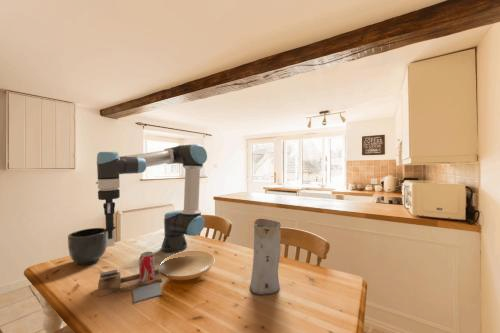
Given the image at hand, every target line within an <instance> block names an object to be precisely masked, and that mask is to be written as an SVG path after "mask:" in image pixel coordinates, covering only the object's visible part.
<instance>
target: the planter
mask: <svg viewBox="0 0 500 333" xmlns="http://www.w3.org/2000/svg"><path fill="white" fill-rule="evenodd" d="M104 230H106V227H93V228H84V229H80V230H76V231H74V232H71V233H69V234H68V236H67V248H68V253H69V256H70V259H71V260H72V261H73V262H75V263H77V264H78V265H80V266H88V265H92V264H95V263H97V262H98V261H99V260H100V258H102V256H103V255H104V254H105V252H106V249H107V248H108V247H107V245H106V232H104Z"/></svg>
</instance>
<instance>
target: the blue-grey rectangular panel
mask: <svg viewBox="0 0 500 333" xmlns="http://www.w3.org/2000/svg"><path fill="white" fill-rule="evenodd" d="M119 272H120V271H118V269H113V270H109V271H104V272H100V273H99V278H105V277H110V276H114V275H118V274H119Z"/></svg>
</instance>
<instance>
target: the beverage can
mask: <svg viewBox="0 0 500 333" xmlns="http://www.w3.org/2000/svg"><path fill="white" fill-rule="evenodd" d="M155 256H156V255H155V254H154V252H152V251H145V252H142V253H141V254H140V257H139V264H138V265H139V273H138V274H139V275H140V278H139V282H140V283H142V282H146V281H150V280H154V279H156V278H155V276H156V274H155V270H156V269H155V264H156V263H155V262H156V261H155Z"/></svg>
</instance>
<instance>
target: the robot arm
mask: <svg viewBox="0 0 500 333" xmlns="http://www.w3.org/2000/svg"><path fill="white" fill-rule="evenodd" d="M119 154H120V153H118V152H117V151H99V152H98V153H97V154H96V156H97V157H96V168H97V169H96V170H97V174H96V175H97V181H96V182H95V185H97V189H98V191H97V199H98V200H100V201H105V202H103V210H104V212H103V213H104V216H105V218H104V219H105V229H106V230H104V232H106V245H107V247H106V248H108V247H114V246H115V229H116V228H117V227H116V226H115V223H114V221H115V220H114V214H115V210H116V209H115V206H116V202H113V200H117V199H119V198H120V196H121V195H120V189H119V188H120V175H125V174H127V175H129V174H130V175H131V174H142V173H144V172H146V169H147V168H148V167H154V166H158V165H159V166H160V165H163V164H167V165H172V164H181V165H182V167H183V168H184V169H185V170H184V171H185V172H184V173H185V174H184V192H183V194H184V195H183V210H182V209H180V210H172V211H169V212H166V213H165V214H164V218H163V224H164V227H163V228H164V238H163V241H162V244H161V252H163V253H177V252H181V251H184V250H186V249H187V247H188V242H187V239H186V236H189V237H191V236H192V237H196V236H198V235H200V234H201V233H202V231H203V230H204V228H205V224H206V223H205V218H204V217H203V216H202V212H201V210H200V209H199V205H200V204H199V202H200V200H199V199H200V180H201V178H200V176H201V169H203V165H204V164H205V163H206V162H207V160H208V152H207V150H206V149H205V147H204V146H203V145H201V144H194V143H193V144H183V145H182V144H181V145H177V146H173V147H172V146H171V147H168V148H165V149H163V150H159V151H152V152H143V153H138V154H130V155H124V156H123V155H122V156H120V155H119ZM185 235H186V236H185Z"/></svg>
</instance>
